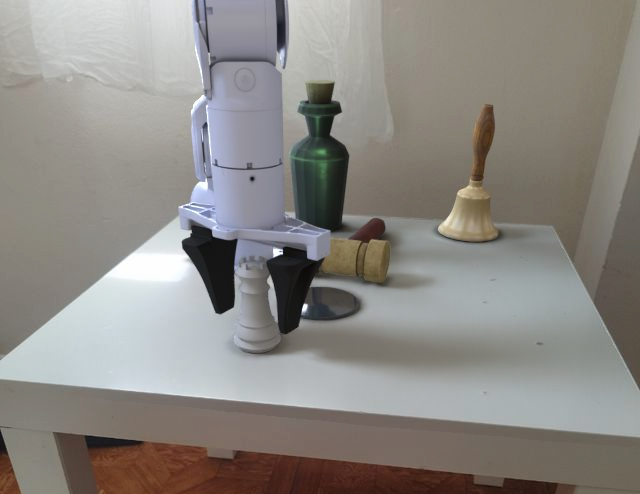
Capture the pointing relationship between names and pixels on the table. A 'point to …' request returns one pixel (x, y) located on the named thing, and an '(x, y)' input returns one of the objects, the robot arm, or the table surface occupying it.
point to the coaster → (328, 303)
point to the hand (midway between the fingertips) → (256, 319)
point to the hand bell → (474, 190)
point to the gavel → (360, 253)
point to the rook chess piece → (255, 308)
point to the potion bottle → (319, 161)
